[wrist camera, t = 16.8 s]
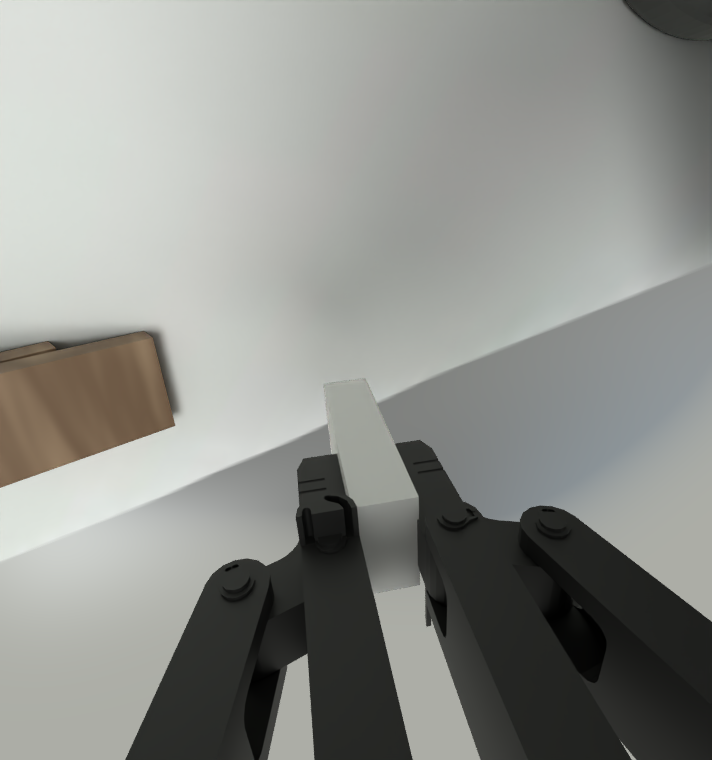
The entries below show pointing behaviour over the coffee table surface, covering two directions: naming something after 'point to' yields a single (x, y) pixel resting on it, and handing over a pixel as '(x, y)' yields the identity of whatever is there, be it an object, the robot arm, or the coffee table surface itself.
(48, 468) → the domino
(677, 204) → the coffee table surface
